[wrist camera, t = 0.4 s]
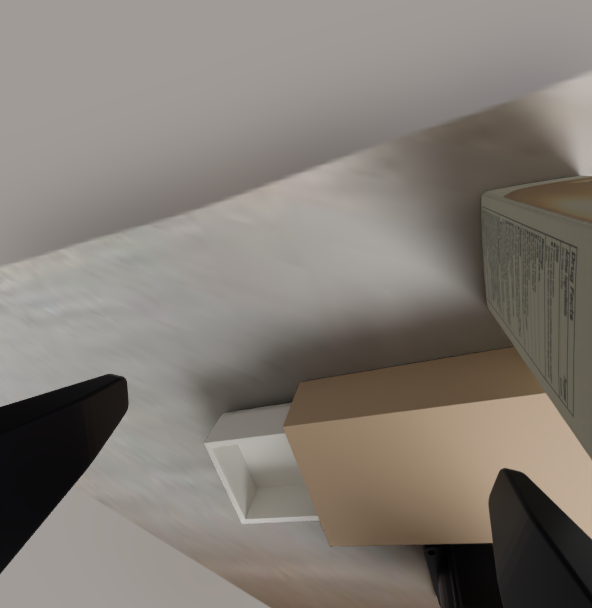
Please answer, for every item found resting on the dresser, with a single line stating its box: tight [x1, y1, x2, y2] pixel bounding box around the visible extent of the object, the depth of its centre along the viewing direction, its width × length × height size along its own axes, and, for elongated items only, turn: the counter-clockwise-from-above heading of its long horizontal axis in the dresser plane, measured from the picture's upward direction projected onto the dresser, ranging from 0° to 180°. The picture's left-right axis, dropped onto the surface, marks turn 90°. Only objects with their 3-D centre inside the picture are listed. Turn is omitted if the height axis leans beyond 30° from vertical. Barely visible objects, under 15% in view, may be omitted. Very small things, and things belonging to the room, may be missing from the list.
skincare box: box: [481, 176, 592, 460], centre depth 13 cm, size 6×4×12 cm
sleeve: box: [283, 347, 592, 546], centre depth 21 cm, size 9×16×4 cm, turn 108°
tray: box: [204, 403, 319, 524], centre depth 23 cm, size 7×16×3 cm, turn 108°
